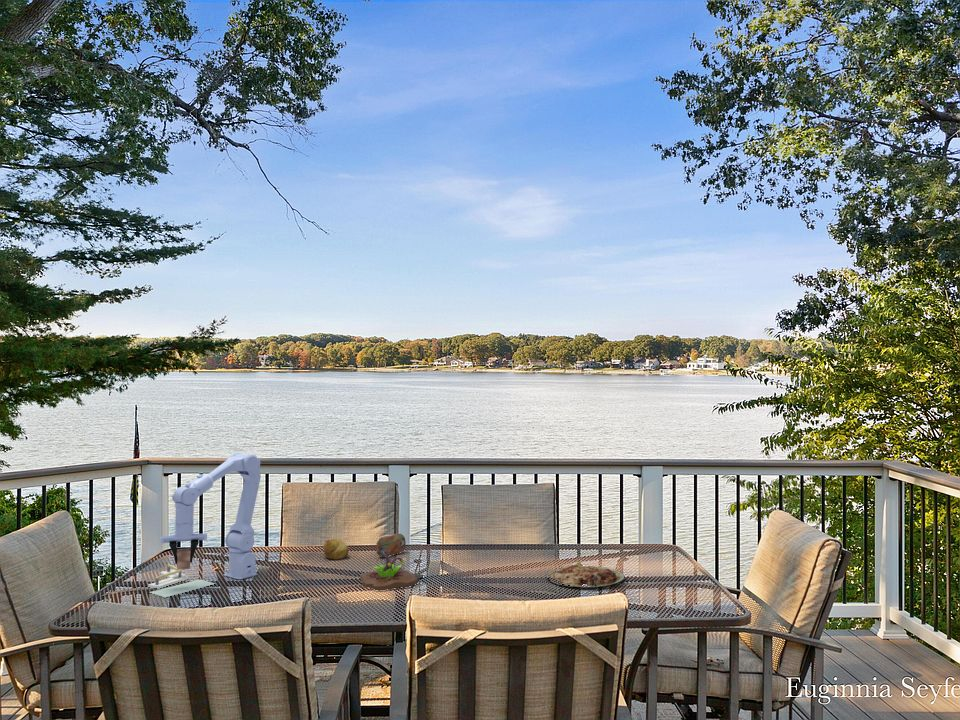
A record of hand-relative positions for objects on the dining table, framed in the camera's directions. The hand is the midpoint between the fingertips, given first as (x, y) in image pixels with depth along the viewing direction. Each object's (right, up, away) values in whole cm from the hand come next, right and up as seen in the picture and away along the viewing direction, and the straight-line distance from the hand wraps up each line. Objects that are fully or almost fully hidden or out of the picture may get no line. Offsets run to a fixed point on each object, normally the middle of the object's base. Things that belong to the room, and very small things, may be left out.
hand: (183, 562), depth 243 cm
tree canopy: (+65, -11, +49) cm, 82 cm away
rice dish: (+139, -11, +16) cm, 141 cm away
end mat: (0, -9, 0) cm, 9 cm away
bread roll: (+43, -11, +46) cm, 64 cm away
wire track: (-11, -9, +10) cm, 17 cm away
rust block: (0, -2, 0) cm, 2 cm away
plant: (+68, -10, +10) cm, 70 cm away
